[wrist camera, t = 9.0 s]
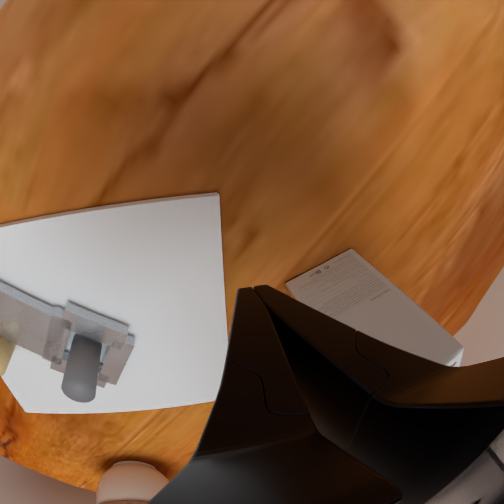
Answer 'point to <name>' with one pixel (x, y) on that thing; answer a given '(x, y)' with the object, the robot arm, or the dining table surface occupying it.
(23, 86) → the dining table surface
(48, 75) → the dining table surface
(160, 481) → the lidded jar
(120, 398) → the jig
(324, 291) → the small box
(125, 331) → the arm
